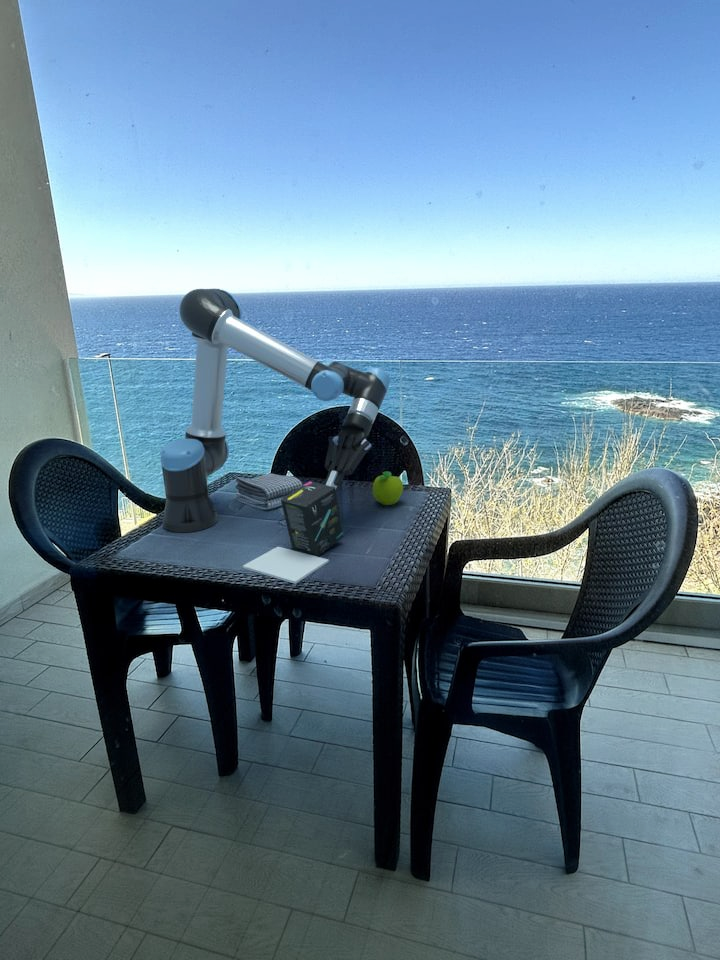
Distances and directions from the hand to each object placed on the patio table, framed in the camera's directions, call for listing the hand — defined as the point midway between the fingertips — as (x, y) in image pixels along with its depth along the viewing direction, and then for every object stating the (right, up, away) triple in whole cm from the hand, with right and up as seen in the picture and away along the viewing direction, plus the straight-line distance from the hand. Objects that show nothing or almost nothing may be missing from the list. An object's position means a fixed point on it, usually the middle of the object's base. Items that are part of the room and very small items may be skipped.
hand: (327, 495), depth 151 cm
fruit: (+17, -4, +29) cm, 34 cm away
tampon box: (-2, -12, 0) cm, 13 cm away
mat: (-9, -17, -10) cm, 21 cm away
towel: (-21, -3, +36) cm, 42 cm away
